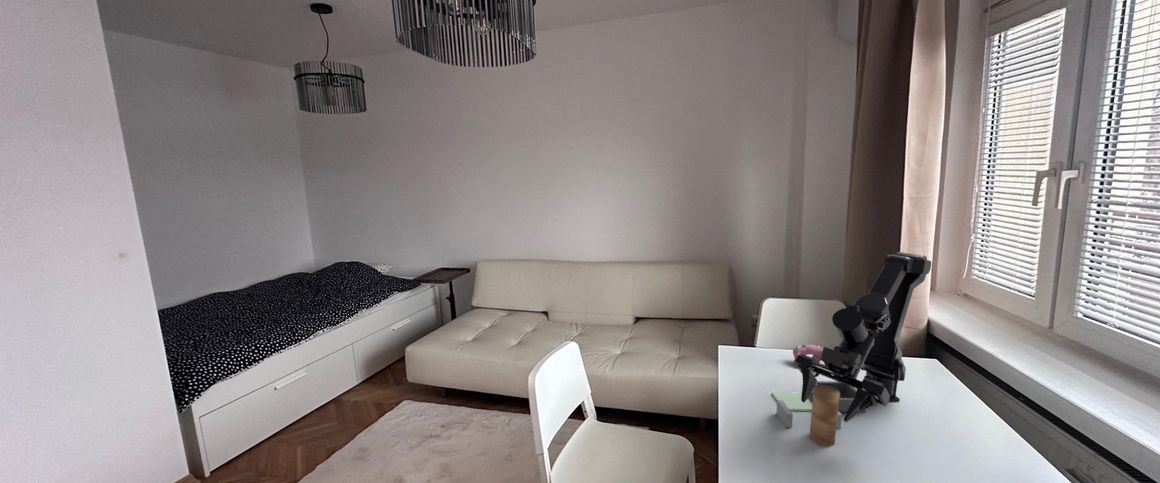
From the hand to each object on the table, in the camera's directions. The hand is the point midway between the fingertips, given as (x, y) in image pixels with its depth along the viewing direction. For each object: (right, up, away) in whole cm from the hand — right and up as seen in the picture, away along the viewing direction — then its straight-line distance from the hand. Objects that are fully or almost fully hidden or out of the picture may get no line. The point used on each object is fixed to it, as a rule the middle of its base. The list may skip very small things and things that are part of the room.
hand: (822, 411), depth 96 cm
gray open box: (+13, -4, +16) cm, 21 cm away
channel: (+1, -6, +9) cm, 10 cm away
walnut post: (+1, -7, +2) cm, 7 cm away
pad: (+2, -4, +17) cm, 17 cm away
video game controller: (+17, 0, +37) cm, 40 cm away
